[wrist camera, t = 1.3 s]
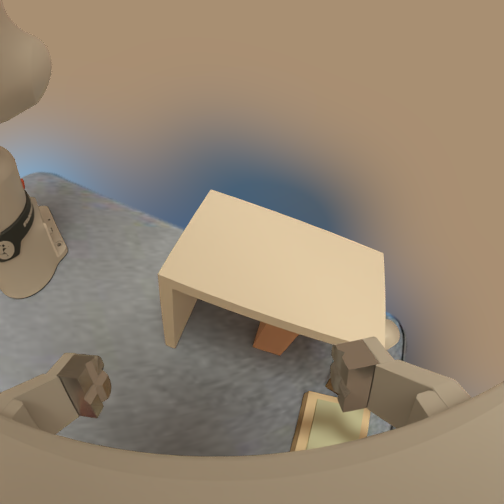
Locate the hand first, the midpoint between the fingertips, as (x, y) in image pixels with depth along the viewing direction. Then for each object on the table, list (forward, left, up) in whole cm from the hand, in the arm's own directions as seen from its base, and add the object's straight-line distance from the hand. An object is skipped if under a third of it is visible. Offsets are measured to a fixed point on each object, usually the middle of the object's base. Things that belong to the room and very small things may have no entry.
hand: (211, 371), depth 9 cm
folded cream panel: (-8, +16, -32) cm, 36 cm away
